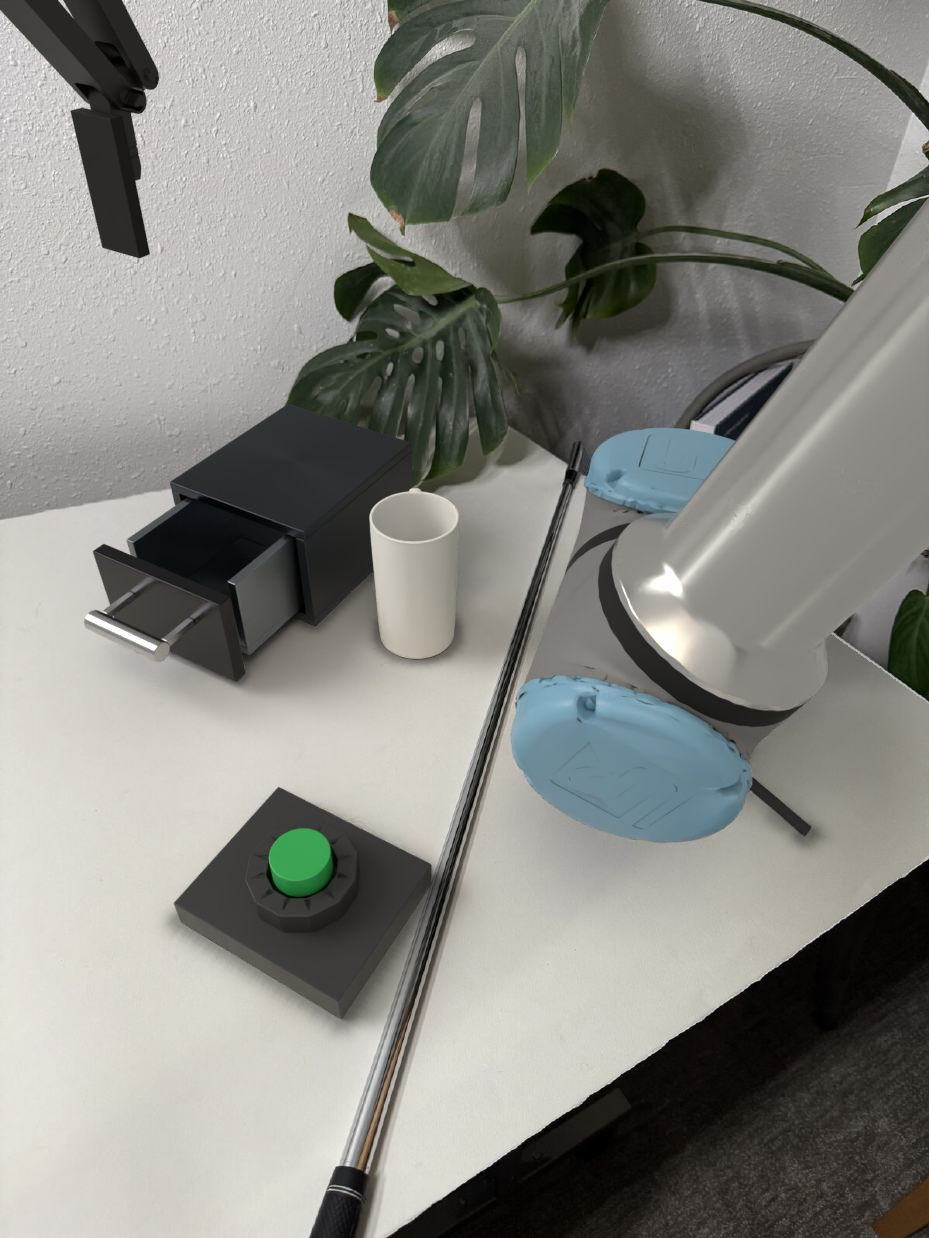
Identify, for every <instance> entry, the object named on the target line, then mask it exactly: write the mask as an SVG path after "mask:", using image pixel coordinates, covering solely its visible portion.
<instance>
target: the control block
mask: <svg viewBox="0 0 929 1238" xmlns="http://www.w3.org/2000/svg"><path fill="white" fill-rule="evenodd" d="M300 828H307V829H312V830H315V831H318V832H319V833H321V834H322V835H323V836H325V838H326V839H327V840H328V842H329V844H330V848H331V855H332V862H333V872H332V875H331V878H330V880H329V881H328V883H327V884H326V885H325V886H324V887H323V888H322V889H321V890H319V891H318V892H316V893H314V894H311V895H308V896H303V897H295V896H290V895H287V894H285V893H283V892H282V891H281V890H279V889H278V888H277V886H276V885H275V883H274V881H273V877H272V873H271V868H270V864H269V853H270V850H271V847H272V846H273V844H274V843H275V841H276V840H277V839H278V838H279V837H280V836H282V835H283V834H285V833H287V832H289V831H291V830H295V829H300ZM432 879H433V877H432V863H430V862H428V861H426V860H424V859H422V858H420V857H419V856H417V855H414V854H412V853H410V852H408V851H406V850H404V849H402V848H400V847H398V846H396V845H394V844H393V843H390V842H389V841H386V840H384V839H382V838H380V837H378V836H377V835H375V834H373V833H371V832H369V831H366V830H365V829H363V828H361V827H359V826H357V825H355V824H353V823H351V822H349V821H347V820H345V819H343V818H342V817H340V816H337V815H335V814H333V813H332V812H329V811H328V810H326V809H323V808H321V807H319V806H317V805H315V804H314V803H311V802H310V801H308V800H305V799H304V798H302V797H300V796H298V795H295V794H294V793H292V792H290V791H288V790H286V789H284V788H282V787H280V786H278V787H277V788H275V790H274V791H273V792H272V793H271V794H270V795H269V796H268V798H267V799H266V800H265V801H264V802H263V803H261V805H260V806H259V808H258V809H256V811H255V812H254V813H253V814H252V815H251V817H250V818H248V819H247V821H246V822H245V823H244V824H243V825H242V827H241V828H240V829H239V830H238V831H236V833H235V834H234V835H233V837H231V839H229V841H228V842H227V843H226V844H225V845H224V846H223V847H222V848H221V850H220V851H219V852H218V853H217V854H216V856H214V858H213V859H212V860H210V862H209V863H208V864H207V865H206V867H204V868H203V870H202V871H201V872H200V873H199V874H198V875H197V876H196V877H195V879H193V881H192V882H191V883H190V884H189V886H187V887H186V889H185V890H184V891H183V892H182V893H181V894H180V895H179V896H178V898H176V900H175V901H174V902H173V905H174V908H175V911H176V913H177V916H178V919H179V922H180V923H181V924H183V925H185V926H187V927H188V928H190V929H191V930H193V931H195V932H196V933H198V934H199V935H201V936H203V937H205V938H206V939H208V940H210V941H211V942H213V943H214V944H216V945H217V946H220V947H221V948H223V949H224V950H225V951H227V952H229V953H231V954H232V955H234V956H236V957H237V958H239V959H241V960H242V961H244V962H245V963H247V964H248V965H251V966H252V967H254V968H256V969H257V970H259V971H260V972H262V973H264V974H265V975H267V976H270V978H272V979H274V980H276V981H277V982H279V983H281V984H282V985H284V986H286V987H287V988H289V989H290V990H292V991H293V992H295V993H297V994H298V995H300V996H301V997H304V998H305V999H307V1000H309V1001H310V1002H312V1003H313V1004H315V1005H316V1006H318V1007H320V1008H322V1009H323V1010H325V1011H327V1012H328V1013H330V1014H332V1015H333V1016H335V1017H336V1018H338V1019H339V1020H342V1019H343V1017H344V1016H345V1014H346V1013H347V1011H348V1010H349V1009H350V1007H351V1005H352V1004H353V1003H354V1001H355V999H357V996H358V995H359V993H361V990H363V987H364V986H365V984H366V983H367V981H368V980H369V978H370V977H371V975H372V974H373V972H374V971H375V969H376V968H377V966H378V965H379V963H380V962H381V960H382V959H383V958H384V956H385V954H386V953H387V952H388V950H389V949H390V947H391V945H392V944H393V942H394V941H395V939H396V938H397V936H398V935H399V933H400V932H401V930H402V929H403V927H404V926H405V924H406V923H407V921H408V920H409V918H410V917H411V916H412V914H413V912H414V911H415V909H416V908H417V907H418V905H419V903H420V902H421V900H422V899H423V897H424V896H425V894H426V893H427V891H428V890H429V888H430V887H431V885H432V883H433V882H432Z"/></svg>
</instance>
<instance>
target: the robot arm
mask: <svg viewBox="0 0 929 1238" xmlns="http://www.w3.org/2000/svg"><path fill="white" fill-rule="evenodd" d="M62 1H63V3H64V4H65V6H64V5H63V4H62V3H61V2H60V1H59V0H0V12H1V13H2V14H3V15H4V16H5V17H6V18H7V19H8V21H9V22H11V24H12V25H14V27H15V28H16V29H17V30H18V32H20V33H21V35H22V36H23V37H24V38H25V39H26V40H27V41H28V42H29V43H30V44H31V45H32V46H33V48H34V49H35V50H37V52H38V53H39V54H40V56H42V57H43V59H45V60H46V61H47V63H49V65H51V67H52V68H53V69H54V70H55V72H57V73H58V74H59V76H61V77H62V79H63V80H64V81H65V82H66V83H67V84H68V85H69V87H71V88H72V89H73V91H75V93H76V94H77V95H78V96H79V97H80V98H81V99H82V101H84V102H85V103H86V104H88V105H89V108H86V107H79V108H75V109H71V110H69V112H70V115H71V120H72V124H73V129H74V133H75V137H76V141H77V146H78V150H79V154H80V158H81V163H82V167H83V171H84V176H85V180H86V185H87V188H88V193H89V197H90V201H91V205H92V209H93V215H94V218H95V222H96V227H97V232H98V235H99V239H100V244H101V248H102V249H105V250H108V251H112V252H116V253H119V254H122V255H126V256H130V257H133V258H137V259H142V258H144V257H147V256H150V255H151V252H150V247H149V242H148V237H147V236H148V235H147V232H146V226H145V222H144V221H145V220H144V215H143V211H142V207H141V202H140V201H141V200H140V197H139V192H138V186H137V182H136V181H139V180H141V179H142V163H141V159H140V158H141V157H140V155H139V154H140V152H139V148H138V142H137V137H136V132H135V127H134V123H133V116H132V114H136V115H141V114H143V113H144V112H145V111H146V108H147V104H148V103H147V102H148V101H147V98H148V97H147V94H146V92H145V90H147V91H153V90H155V89H157V87H158V85H159V81H160V72H159V69H158V67H157V65H156V63H155V61H154V59H153V57H152V55H151V54H150V51H149V49H148V47H147V46H146V44H145V42H144V40H143V38H142V36H141V35H140V32H139V31H138V29H137V26H136V25H135V23H134V21H133V19H132V17H131V15H130V13H129V10H128V9H127V7H126V5H125V3H124V1H123V0H62ZM66 8H67V9H66ZM774 390H775V391H773V392H772V394H771V395H770V396H769V398H768V399H767V401H766V402H765V403H764V404H763V405H762V407H761V408H760V409H759V411H758V412H757V413H756V414H755V416H754V417H753V418H752V419H751V421H750V422H749V423H748V424H747V425H746V427H744V429H743V430H742V432H741V433H740V434H739V436H738V437H737V438H736V439H735V440H734V439H732V438H728V437H725V436H721V435H718V434H715V433H710V432H705V431H700V430H695V429H687V428H679V427H651V428H649V427H648V428H647V427H646V428H641V429H633V430H627V431H624V432H622V433H618V434H615V435H613V436H611V437H609V438H608V439H606V440H605V441H603V442H602V443H601V444H599V446H598V447H596V450H595V451H594V453H593V454H592V456H591V459H590V464H589V469H588V472H587V475H586V476H585V477H584V478H583V487H584V488H585V491H586V492H585V496H584V497H585V498H584V505H583V509H582V510H583V511H582V515H581V521H580V524H579V529H578V533H577V537H576V540H575V543H574V545H573V548H572V551H571V553H570V556H569V559H568V562H567V565H566V568H565V571H564V575H563V577H562V579H561V582H560V584H559V587H558V590H557V592H556V595H555V598H554V600H553V603H552V606H551V609H550V611H549V614H548V617H547V620H546V623H545V625H544V628H543V631H542V634H541V636H540V639H539V641H538V644H537V647H536V650H535V653H534V654H533V655H534V656H533V658H532V660H531V663H530V666H529V669H528V671H527V675H526V678H525V680H524V683H523V685H522V686H521V687H520V689H519V690H518V691H517V693H516V695H515V700H516V701H515V702H514V705H515V713H514V717H513V721H512V725H511V730H510V731H511V732H510V747H511V752H512V757H513V760H514V761H515V764H516V766H517V767H518V769H520V770H521V771H522V772H523V775H524V778H525V780H526V782H527V783H528V784H529V786H530V787H531V788H532V789H533V790H534V791H535V792H536V794H538V795H539V796H540V797H541V798H542V799H543V800H545V801H546V802H547V803H548V804H549V805H550V806H551V807H553V808H555V809H557V810H558V811H560V812H561V813H563V814H565V816H568V817H569V818H571V819H573V820H575V821H576V822H579V823H581V824H582V825H584V826H588V827H590V828H592V829H594V830H596V831H599V832H601V833H602V832H603V833H605V834H609V835H611V836H615V837H618V838H623V839H628V840H633V841H646V842H651V843H656V844H659V843H660V844H678V843H685V842H686V843H687V842H692V841H698V840H701V839H706V838H708V837H710V836H713V835H715V834H717V833H719V832H721V831H723V830H725V829H726V828H727V827H728V826H730V825H731V824H732V823H733V822H734V821H735V820H736V819H737V818H738V816H739V815H740V813H741V812H742V810H743V808H744V805H745V801H746V796H747V795H748V793H749V792H752V793H753V794H754V795H755V796H756V797H757V798H759V799H760V800H761V801H762V802H763V803H765V804H766V805H767V806H768V807H769V808H770V809H772V811H774V812H775V813H776V814H777V815H778V816H780V817H781V819H783V820H784V821H785V822H787V823H788V824H789V825H790V826H791V827H792V828H793V829H794V830H795V831H797V832H798V833H799V834H801V835H802V836H804V837H806V836H807V835H808V834H809V832H810V831H811V829H812V827H813V826H812V825H810V824H809V823H808V822H807V821H805V820H804V819H803V818H802V817H801V816H799V814H798V813H796V812H795V811H794V810H793V809H791V808H790V807H789V806H788V805H787V804H785V803H784V802H783V801H782V800H781V799H780V798H778V797H777V796H776V795H775V794H774V793H773V792H771V791H770V790H769V789H768V788H766V787H765V785H763V784H762V783H761V782H759V780H757V779H756V778H754V776H753V772H752V768H751V765H750V759H751V757H752V756H753V753H754V751H755V750H756V748H757V747H758V745H759V744H760V743H761V741H763V740H764V739H765V738H766V737H767V736H769V734H771V733H773V732H774V730H776V729H777V728H778V727H780V726H781V725H782V724H783V723H784V722H785V721H787V720H788V719H789V718H790V717H792V716H793V715H794V714H795V713H796V712H797V711H798V710H799V709H801V708H802V707H803V706H804V705H805V704H807V703H808V702H809V701H810V700H811V699H812V698H813V697H814V696H815V695H816V694H817V693H818V692H819V690H820V689H821V688H822V687H823V685H824V683H825V681H826V678H827V675H828V671H829V669H828V668H829V652H828V645H827V638H828V637H829V636H831V634H832V633H834V632H835V631H836V630H837V629H838V628H840V626H841V625H843V624H844V623H845V621H847V620H848V619H849V618H851V617H852V616H853V615H854V614H855V613H856V612H857V611H859V610H860V608H862V607H863V606H864V605H865V604H866V603H867V602H869V600H870V599H872V598H873V597H874V596H875V595H876V594H877V593H879V592H880V591H881V590H882V589H883V588H884V587H885V586H886V585H888V583H890V582H891V581H892V580H894V578H895V577H896V576H898V575H899V574H900V573H901V572H902V571H903V570H904V569H905V568H907V567H908V565H910V564H911V563H912V562H913V561H915V560H916V559H917V558H918V557H919V556H920V555H921V554H922V553H924V552H925V551H926V550H927V549H928V548H929V197H928V198H927V199H926V200H925V202H924V203H923V204H922V206H921V207H920V208H919V210H917V212H916V213H915V214H914V215H913V217H912V218H911V219H910V221H909V222H908V223H907V224H906V226H904V228H903V229H902V231H901V232H900V233H899V235H898V236H897V237H896V238H895V239H894V241H893V242H892V243H891V245H890V246H889V247H888V248H887V250H886V251H885V252H884V253H883V254H882V255H881V257H880V258H879V260H878V261H877V262H876V264H875V265H874V266H873V267H872V268H871V270H869V272H868V273H867V275H866V276H865V277H864V279H863V280H862V281H861V282H860V284H859V285H858V286H857V287H856V289H855V290H854V291H853V292H852V293H851V295H850V296H849V297H848V298H847V300H846V301H845V302H844V304H843V305H842V306H841V307H840V308H839V310H838V311H837V312H836V314H835V315H834V316H833V317H832V318H831V320H830V321H829V323H827V325H826V326H825V327H824V329H823V330H822V331H821V332H820V334H819V335H818V336H817V337H816V339H815V340H814V341H813V343H812V344H811V345H810V347H808V349H807V351H806V352H805V353H804V354H803V355H802V356H801V358H800V359H799V360H798V361H797V362H796V364H795V365H794V367H793V368H792V369H791V370H790V372H789V373H788V374H787V375H786V376H785V378H784V379H783V380H782V381H781V383H780V384H779V385H778V386H777V387H776V389H774Z"/></svg>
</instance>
